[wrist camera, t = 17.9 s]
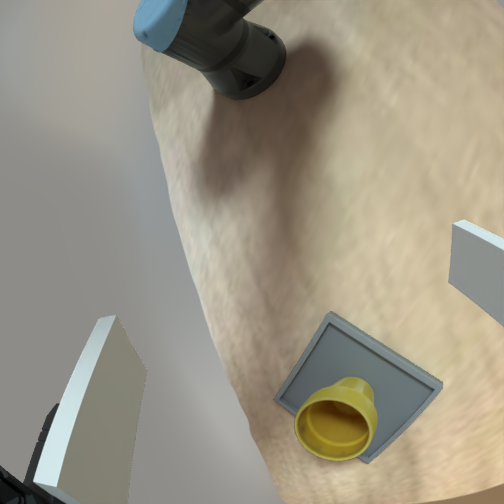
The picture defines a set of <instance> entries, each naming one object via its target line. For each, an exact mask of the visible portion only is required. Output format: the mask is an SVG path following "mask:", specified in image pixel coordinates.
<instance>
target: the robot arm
mask: <svg viewBox="0 0 504 504" xmlns="http://www.w3.org/2000/svg"><path fill="white" fill-rule="evenodd" d="M262 1H264V0H141V2H140V4H139V7H138V9H137V11H136V15H135V17H134V22H133V31H134V35H135V37H136V38H137V39H138V41H140V42H141V43H143V44H145V45H147V46H149V47H151V48H153V50H155V51H156V52H161V53H163V54H166V55H168V56H170V57H172V58H174V59H176V60H178V61H180V62H183V63H185V64H187V65H189V66H191V67H193V68H195V69H197V70H199V71H200V72H201V73H202V74H203V75H204V77H205V78H206V79H207V80H208V82H209V83H210V84H211V85H212V87H213V88H214V89H215V90H216V91H218V92H219V93H221V94H223V95H225V96H227V97H229V98H232V99H245V98H249V97H252V96H255V95H257V94H259V93H260V92H262V91H263V90H265V89H266V88H267V87H269V86H270V85H271V84H272V83H273V82H274V81H275V79H276V78H277V77H278V75H279V74H280V72H281V70H282V68H283V66H284V63H285V58H286V50H285V46H284V43H283V41H282V40H281V39H280V38H279V37H278V36H277V35H276V34H275V33H274V32H273V31H272V30H270V29H268V28H266V27H264V26H261V25H258V24H255V23H252V22H249V21H247V20H245V19H243V17H244V16H245V15H246V14H247V13H249V12H250V11H251V10H252V9H254V8H255V7H256V6H257V5H259V4H260V3H261V2H262ZM448 283H450V284H451V285H452V286H454V287H455V288H456V289H458V290H459V291H460V292H462V293H463V294H464V295H465V296H467V297H468V298H469V299H470V300H472V301H473V302H474V303H476V304H477V305H478V306H479V307H480V308H482V309H483V310H484V311H485V312H487V313H488V314H489V315H490V316H491V317H493V318H494V319H495V320H496V321H497V322H499V323H500V324H501V325H502V326H503V327H504V239H503V238H501V237H499V236H497V235H495V234H493V233H491V232H489V231H487V230H485V229H483V228H481V227H479V226H476V225H474V224H472V223H470V222H468V221H466V220H462V221H459V222H456V223H453V224H452V245H451V259H450V270H449V280H448ZM146 376H147V369H146V367H145V365H144V364H143V362H142V361H141V359H140V357H139V355H138V353H137V352H136V350H135V348H134V346H133V345H132V343H131V341H130V339H129V337H128V335H127V333H126V332H125V330H124V328H123V326H122V324H121V322H120V320H119V318H118V316H117V315H112V316H108V317H103V318H99V320H98V322H97V323H96V325H95V327H94V329H93V331H92V333H91V335H90V338H89V340H88V342H87V344H86V346H85V348H84V350H83V352H82V354H81V356H80V358H79V361H78V363H77V365H76V367H75V369H74V372H73V374H72V376H71V378H70V381H69V383H68V385H67V388H66V390H65V392H64V395H63V397H62V400H61V402H60V403H59V404H56V405H55V406H54V408H53V409H52V410H51V411H50V413H49V414H48V415H47V417H46V420H45V422H44V425H43V427H42V430H43V431H42V432H41V433H40V436H39V438H38V441H39V442H37V443H36V446H35V449H34V452H33V455H32V458H31V461H30V464H29V467H28V470H27V473H26V477H25V480H24V482H23V483H21V482H20V481H19V480H18V479H16V478H15V477H14V476H12V475H11V474H10V473H9V472H8V471H6V470H5V469H4V468H2V467H1V466H0V504H128V497H129V486H130V478H131V469H132V461H133V454H134V446H135V440H136V432H137V427H138V420H139V414H140V408H141V403H142V397H143V392H144V386H145V381H146Z"/></svg>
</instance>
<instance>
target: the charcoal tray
mask: <svg viewBox="0 0 504 504" xmlns="http://www.w3.org/2000/svg"><path fill="white" fill-rule="evenodd" d="M345 377H358V378H361V379H363V380H365V381H366V382H367V383H368V384H369V385H370V386H371V387H372V389H373V392H374V407H375V409H376V412H377V417H378V422H377V427H376V431H375V434H374V437H373V439H372V441H371V443H370V445H369V447H368V448H367V449H366V450H365V451H364V452H363V453H362V454H360V455H359V456H357V457H358V458H359V459H361V460H362V461H364V462H366V463H367V464H368V463H369V462H371V461H372V460H373V459H374V458H375V457H376V456H378V455H379V454H380V453H381V452H382V451H383V450H384V449H385V448H387V447H388V446H389V445H390V444H391V443H392V442H393V441H394V440H395V439H396V438H397V437H398V436H399V435H400V434H401V433H402V432H403V431H404V430H405V429H406V428H407V427H408V426H409V425H410V424H411V423H412V422H413V421H414V420H415V419H416V418H417V417H418V416H419V415H420V414H421V413H422V412H423V410H424V409H425V408H426V407H427V406H428V405H429V404H430V403H431V401H432V400H433V399H434V398H435V397H436V396H437V394H438V393H439V392H440V391H441V390H442V388H443V382H442V381H440V380H439V379H437V378H436V377H434V376H432V375H431V374H429V373H428V372H426V371H425V370H423V369H421V368H420V367H418V366H417V365H415V364H414V363H412V362H410V361H409V360H407V359H406V358H404V357H403V356H401V355H399V354H398V353H396V352H395V351H393V350H392V349H390V348H388V347H387V346H385V345H384V344H382V343H381V342H379V341H377V340H376V339H374V338H373V337H371V336H370V335H368V334H366V333H365V332H363V331H362V330H360V329H359V328H357V327H356V326H354V325H352V324H351V323H349V322H348V321H346V320H345V319H343V318H342V317H340V316H338V315H337V314H335V313H334V312H332V311H330V312H329V313H327V315H326V316H325V318H324V320H323V322H322V323H321V325H320V327H319V328H318V330H317V332H316V333H315V335H314V337H313V338H312V340H311V342H310V343H309V345H308V347H307V348H306V350H305V351H304V353H303V355H302V356H301V358H300V359H299V361H298V363H297V364H296V366H295V367H294V369H293V370H292V372H291V374H290V375H289V377H288V378H287V380H286V381H285V383H284V384H283V386H282V387H281V389H280V390H279V392H278V393H277V395H276V396H275V398H274V399H273V400H274V401H276V402H277V403H278V404H280V405H281V406H282V407H284V408H285V409H286V410H288V411H289V412H291V413H292V414H293V415H295V416H296V414H297V412H298V410H299V409H300V407H301V406H302V405H303V404H304V402H305V401H306V400H307V399H308V398H309V397H310V396H311V395H312V394H313V393H315V392H316V391H318V390H320V389H322V388H325V387H330V386H331V385H333V384H334V383H336V382H337V381H339V380H340V379H342V378H345Z"/></svg>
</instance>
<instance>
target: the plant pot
mask: <svg viewBox="0 0 504 504" xmlns="http://www.w3.org/2000/svg"><path fill="white" fill-rule="evenodd" d="M377 422H378V417H377V412H376V409H375V407H374V392H373V389H372V387H371V386H370V385H369V384H368V383H367V382H366V381H365V380H363V379H361V378H358V377H345V378H342V379H340V380H339V381H337V382H336V383H334V384H333V385H331V386H330V387H325V388H322V389H320V390H318V391H316V392H315V393H313V394H312V395H311V396H310V397H309V398H308V399H307V400H306V401H305V402H304V404H303V405H302V406H301V407H300V409H299V410H298V412H297V414H296V416H295V421H294V429H295V433H296V436H297V438H298V440H299V441H300V443H301V444H302V445H303V447H304V448H306V449H307V450H308V451H309V452H311V453H312V454H314V455H316V456H318V457H320V458H323V459H326V460H332V461H345V460H349V459H353V458H355V457H357V456H359V455H360V454H362V453H363V452H364V451H365V450H366V449H367V448H368V447H369V445H370V443H371V441H372V439H373V437H374V434H375V431H376V427H377Z"/></svg>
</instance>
